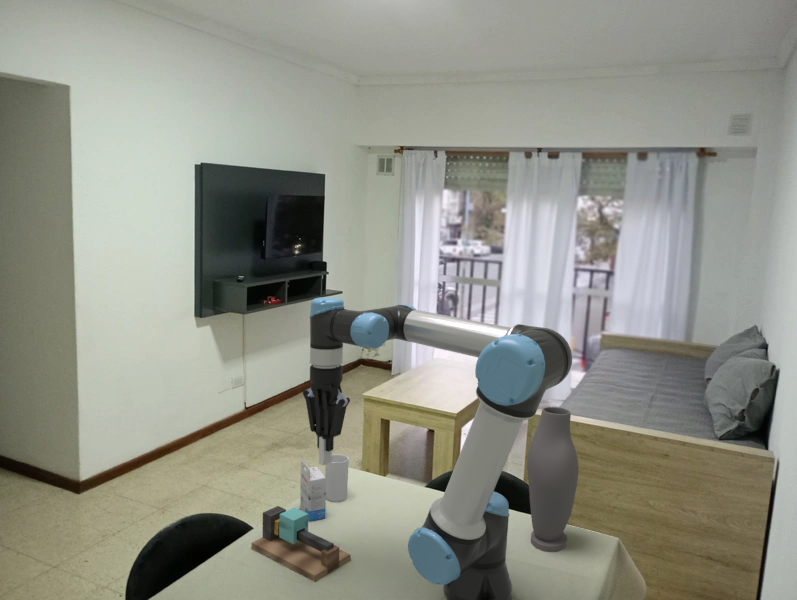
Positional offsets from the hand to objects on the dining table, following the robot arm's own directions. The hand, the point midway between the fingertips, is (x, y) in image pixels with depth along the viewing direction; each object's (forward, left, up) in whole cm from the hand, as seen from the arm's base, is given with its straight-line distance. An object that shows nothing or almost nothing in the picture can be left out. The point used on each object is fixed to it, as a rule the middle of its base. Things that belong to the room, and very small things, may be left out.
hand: (325, 462), depth 151 cm
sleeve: (+8, +2, -21) cm, 23 cm away
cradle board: (+6, +2, -25) cm, 25 cm away
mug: (+22, -28, -25) cm, 44 cm away
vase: (-37, -45, -25) cm, 63 cm away
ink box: (+19, -15, -25) cm, 35 cm away
